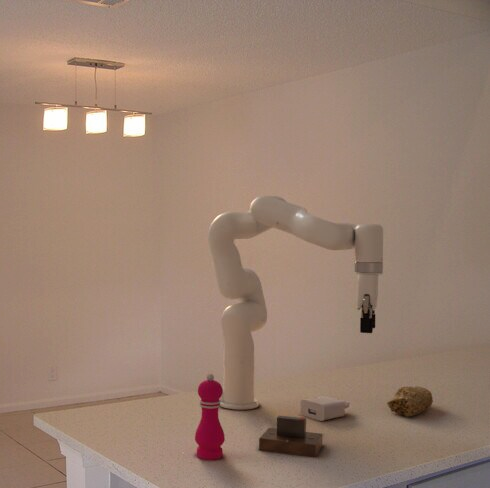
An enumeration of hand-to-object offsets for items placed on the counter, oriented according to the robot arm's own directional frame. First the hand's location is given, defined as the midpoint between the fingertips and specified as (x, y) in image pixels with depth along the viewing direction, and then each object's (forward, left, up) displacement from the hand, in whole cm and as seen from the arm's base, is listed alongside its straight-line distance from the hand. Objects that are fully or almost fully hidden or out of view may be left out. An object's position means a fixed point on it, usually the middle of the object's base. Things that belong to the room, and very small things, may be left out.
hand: (367, 330), depth 201 cm
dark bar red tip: (-16, -26, -24) cm, 39 cm away
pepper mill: (-33, -40, -27) cm, 59 cm away
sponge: (+10, +25, -27) cm, 38 cm away
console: (-16, -26, -27) cm, 41 cm away
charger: (-12, +10, -27) cm, 31 cm away
